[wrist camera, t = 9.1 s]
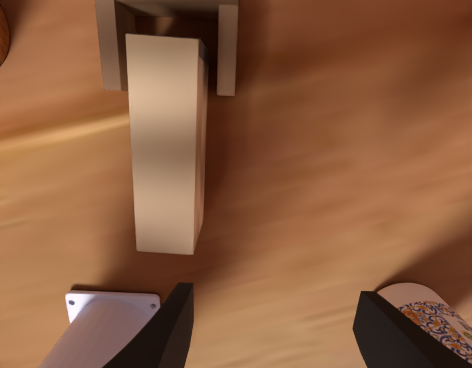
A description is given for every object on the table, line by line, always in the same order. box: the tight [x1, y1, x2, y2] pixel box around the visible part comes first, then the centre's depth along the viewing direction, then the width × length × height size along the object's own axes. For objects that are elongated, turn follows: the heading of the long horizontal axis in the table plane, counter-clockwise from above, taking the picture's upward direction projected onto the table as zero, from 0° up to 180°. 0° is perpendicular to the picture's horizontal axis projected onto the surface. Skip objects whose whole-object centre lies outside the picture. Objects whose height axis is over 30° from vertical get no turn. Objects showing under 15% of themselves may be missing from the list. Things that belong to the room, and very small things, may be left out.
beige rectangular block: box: [126, 33, 209, 255], centre depth 17 cm, size 12×4×5 cm, turn 176°
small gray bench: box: [95, 0, 239, 96], centre depth 14 cm, size 6×8×8 cm
